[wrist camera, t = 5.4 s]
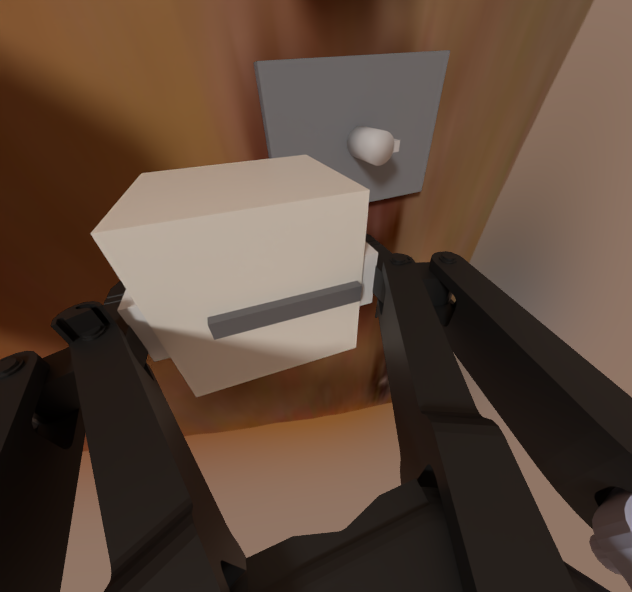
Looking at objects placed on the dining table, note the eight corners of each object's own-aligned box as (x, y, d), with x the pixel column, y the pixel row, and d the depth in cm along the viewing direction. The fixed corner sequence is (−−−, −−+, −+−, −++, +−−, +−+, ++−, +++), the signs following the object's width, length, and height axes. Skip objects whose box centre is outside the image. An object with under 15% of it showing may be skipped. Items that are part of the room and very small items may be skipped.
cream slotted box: (199, 304, 17) (196, 405, 11) (141, 173, 12) (84, 240, 6) (313, 277, 19) (359, 353, 13) (306, 154, 14) (375, 193, 8)
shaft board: (278, 216, 31) (292, 236, 27) (253, 62, 22) (268, 55, 18) (414, 188, 36) (444, 201, 32) (439, 52, 27) (487, 44, 23)
